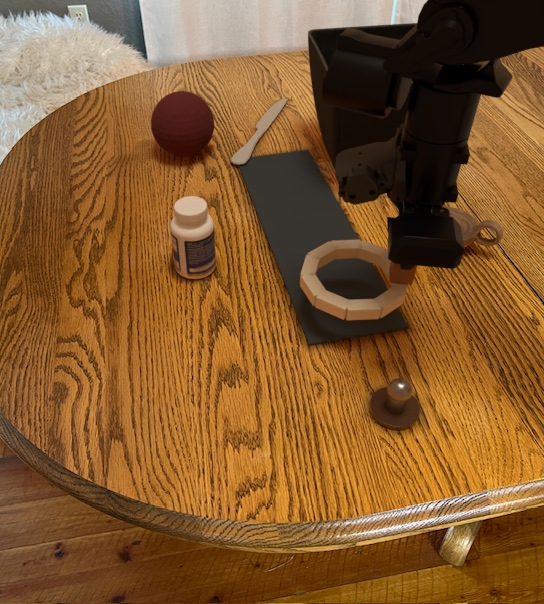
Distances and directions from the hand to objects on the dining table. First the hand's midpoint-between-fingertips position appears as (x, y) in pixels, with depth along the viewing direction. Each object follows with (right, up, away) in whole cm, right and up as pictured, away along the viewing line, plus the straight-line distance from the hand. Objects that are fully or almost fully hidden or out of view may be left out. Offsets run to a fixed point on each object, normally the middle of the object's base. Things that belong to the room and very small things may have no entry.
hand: (404, 260), depth 65 cm
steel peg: (-2, -16, -3) cm, 16 cm away
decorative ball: (-26, +20, +34) cm, 47 cm away
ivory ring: (-5, -2, +4) cm, 6 cm away
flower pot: (+4, +19, +31) cm, 37 cm away
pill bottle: (-23, 0, +14) cm, 27 cm away
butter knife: (-13, +25, +38) cm, 47 cm away
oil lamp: (+10, +4, +16) cm, 19 cm away
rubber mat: (-8, +5, +18) cm, 21 cm away
